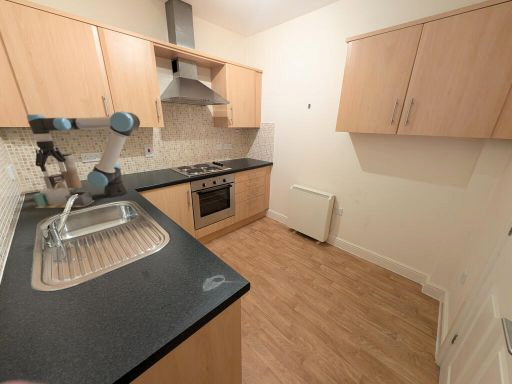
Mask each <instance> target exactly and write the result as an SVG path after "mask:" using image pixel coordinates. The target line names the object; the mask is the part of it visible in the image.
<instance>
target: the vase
mask: <svg viewBox="0 0 512 384" xmlns="http://www.w3.org/2000/svg"><path fill="white" fill-rule="evenodd" d="M62 155H63V156H64V157H65V159H66V160H65V162H64V164H65V168H66V171H65V172H62V171H61V169H60V166H59V163H58V162H59V161H58V160H57V159H56V161H57V165H58V167H59V171H60V173H61V174H63V175H64V178H65V181H66V185H67V188H75V190H79V189H81V188H82V187H83V186H82V183H81V180H80V175H79V172H78V169H77V166H76V162H75V159H74V154H71V153H68V154H67V153H65V154H64V153H63V154H62ZM62 159H63V158H62Z"/></svg>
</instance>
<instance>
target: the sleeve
mask: <svg viewBox="0 0 512 384" xmlns="http://www.w3.org/2000/svg"><path fill="white" fill-rule="evenodd" d="M76 193H77V194H78V198H77V199H76V200H75V201H74V203H73V206H84V205H86V204H88V203H90V202H92V201H94V200H93V195H92V193H91V191H76ZM71 196H72V195H66V196H65V197H66V200H67V201H68V199H69V198H70V197H71Z"/></svg>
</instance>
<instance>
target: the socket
mask: <svg viewBox="0 0 512 384" xmlns="http://www.w3.org/2000/svg"><path fill="white" fill-rule="evenodd" d="M32 197H33V200H34V202H35V205H36V206H35V207H44V206H46V203H45V200H44V197H43V195H42V194H41V193H40V192H37V193H35V194H32Z"/></svg>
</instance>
